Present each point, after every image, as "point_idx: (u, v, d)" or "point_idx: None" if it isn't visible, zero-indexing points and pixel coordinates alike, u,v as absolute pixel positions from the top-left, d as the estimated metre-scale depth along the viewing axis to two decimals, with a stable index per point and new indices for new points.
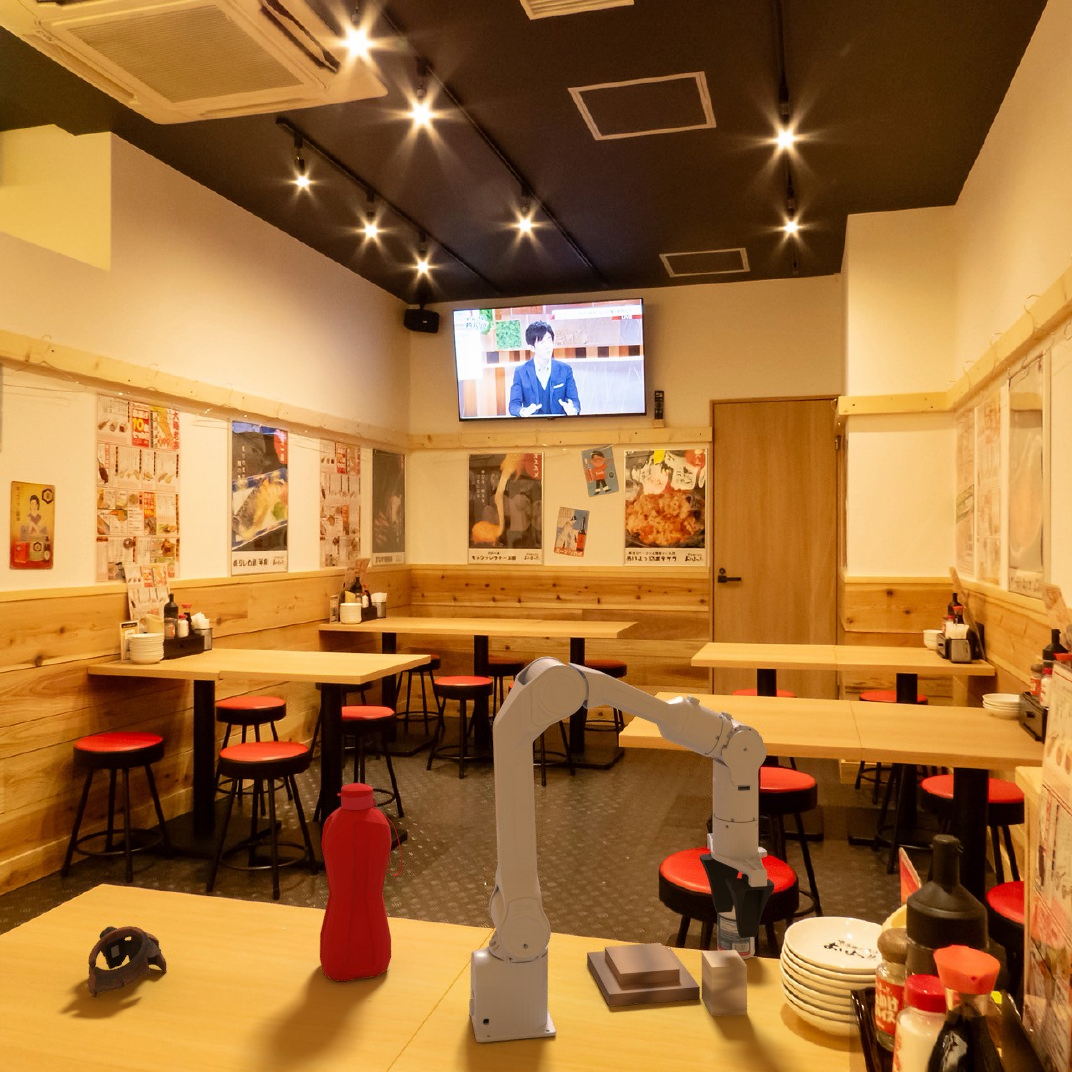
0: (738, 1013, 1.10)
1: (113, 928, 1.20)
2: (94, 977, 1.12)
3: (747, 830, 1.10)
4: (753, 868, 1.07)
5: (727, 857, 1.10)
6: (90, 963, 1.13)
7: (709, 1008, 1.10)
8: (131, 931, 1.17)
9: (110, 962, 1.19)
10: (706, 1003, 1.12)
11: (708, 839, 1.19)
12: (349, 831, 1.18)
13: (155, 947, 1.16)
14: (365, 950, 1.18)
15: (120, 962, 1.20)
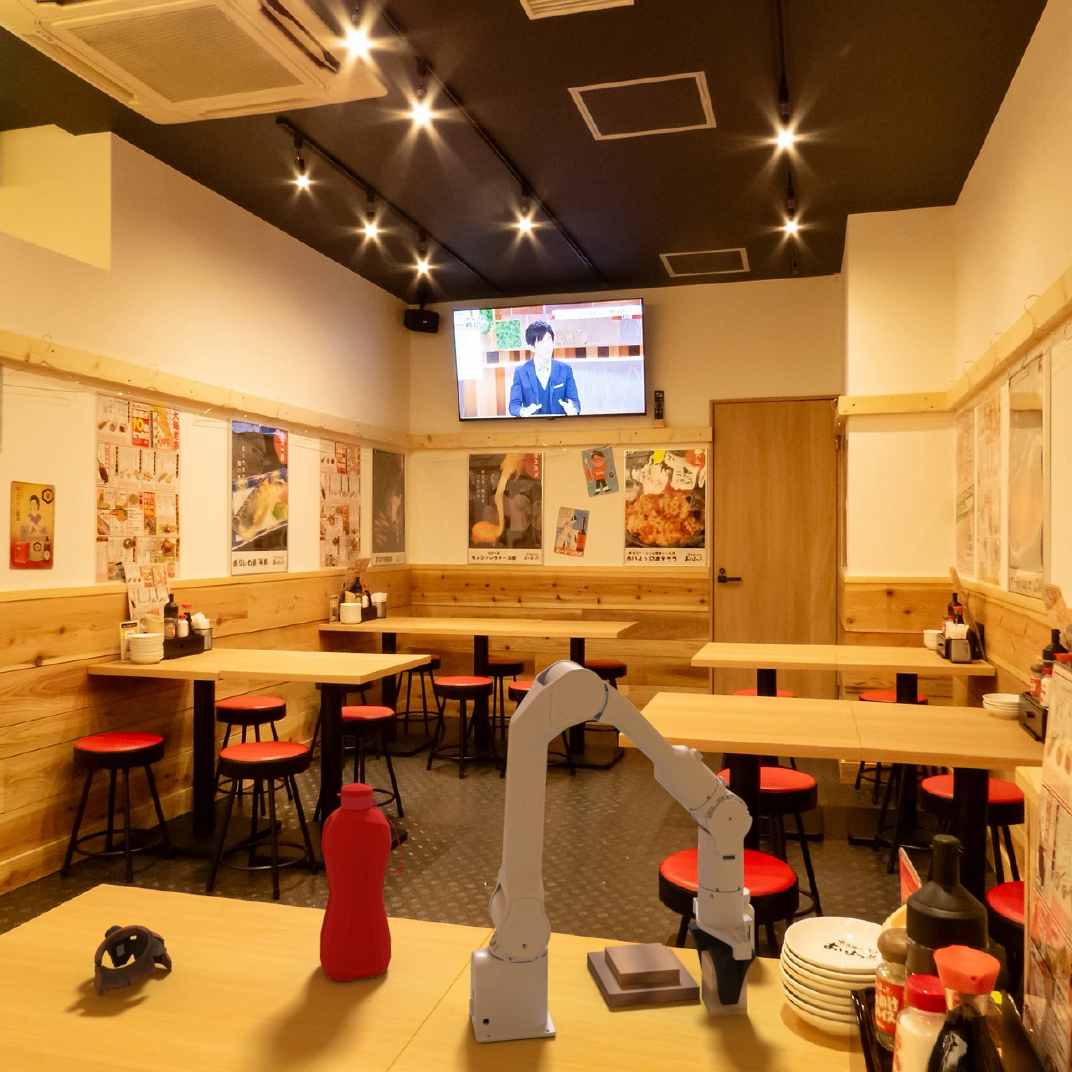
0: (738, 1013, 1.10)
1: (118, 927, 1.20)
2: (100, 976, 1.13)
3: (732, 900, 1.10)
4: (738, 940, 1.06)
5: (712, 927, 1.09)
6: (96, 962, 1.13)
7: (709, 1008, 1.10)
8: (137, 930, 1.17)
9: (115, 961, 1.19)
10: (706, 1003, 1.12)
11: (694, 904, 1.19)
12: (349, 831, 1.18)
13: (161, 946, 1.17)
14: (365, 950, 1.18)
15: (125, 961, 1.20)
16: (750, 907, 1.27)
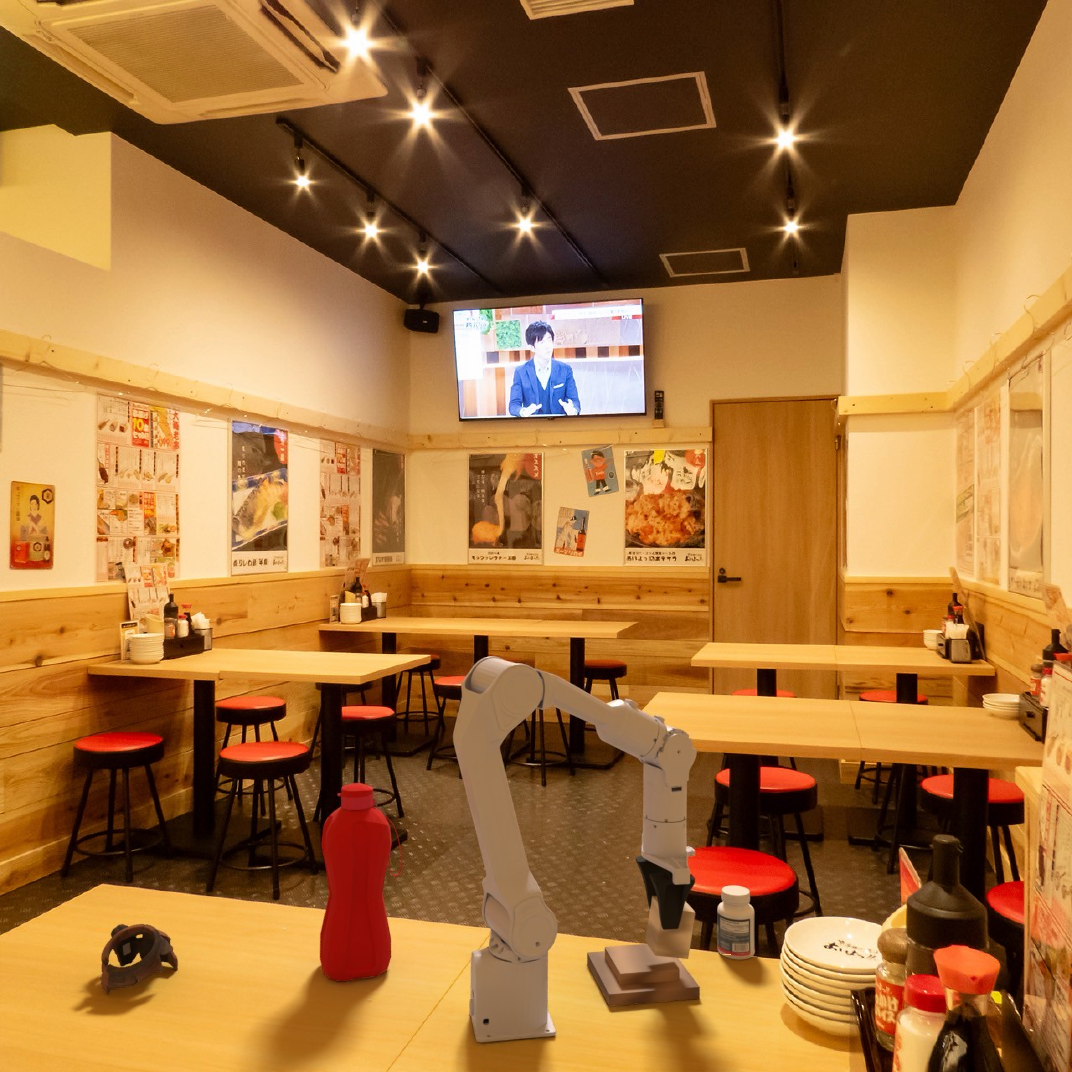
0: (680, 956, 1.14)
1: (124, 926, 1.21)
2: (107, 974, 1.13)
3: (674, 830, 1.14)
4: (678, 866, 1.11)
5: (655, 856, 1.14)
6: (103, 960, 1.14)
7: (653, 948, 1.15)
8: (143, 929, 1.18)
9: (122, 959, 1.20)
10: (650, 944, 1.16)
11: (642, 839, 1.23)
12: (349, 831, 1.18)
13: (167, 944, 1.17)
14: (365, 951, 1.18)
15: (131, 959, 1.21)
16: (750, 907, 1.27)
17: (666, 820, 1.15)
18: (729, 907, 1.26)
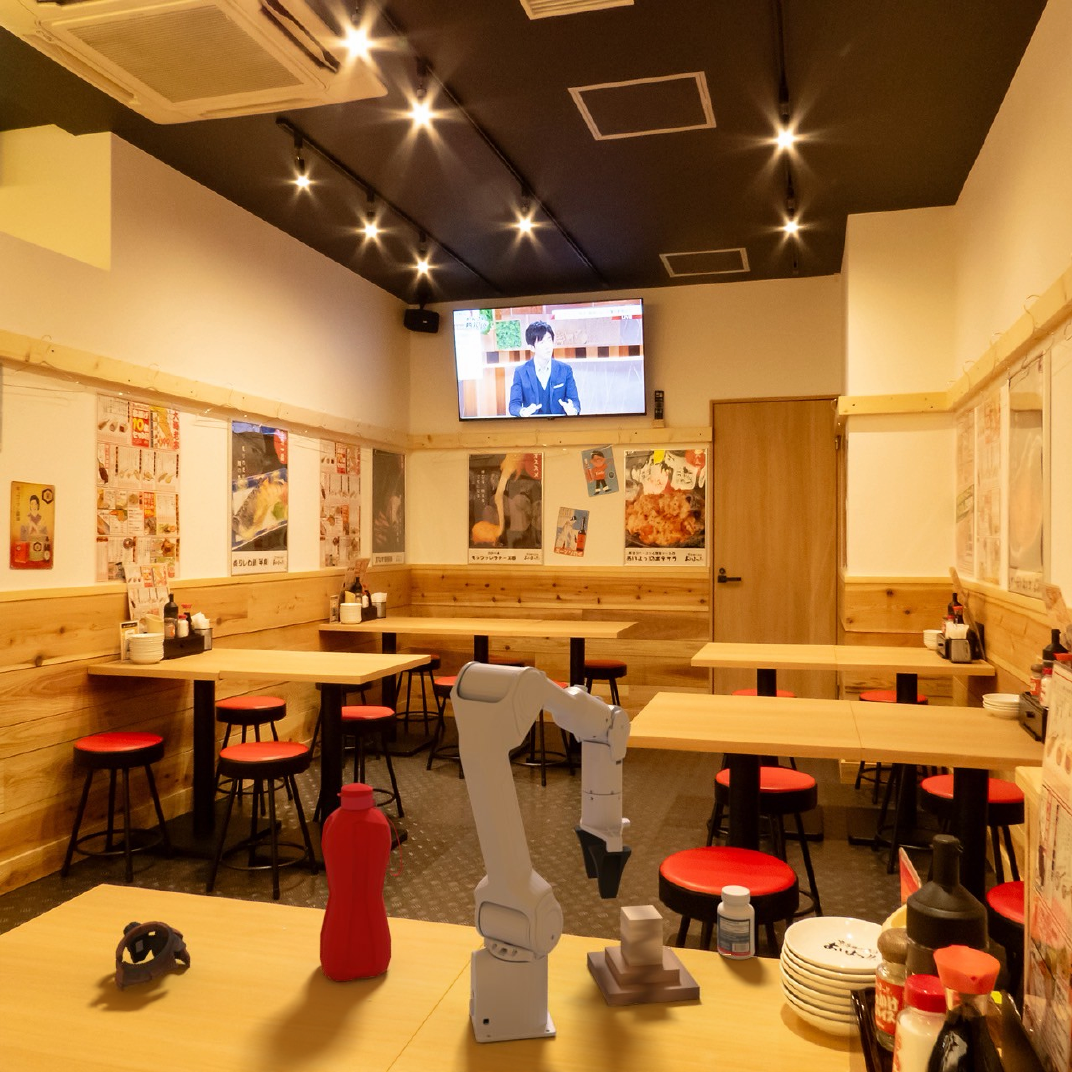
0: (654, 963, 1.16)
1: (137, 923, 1.21)
2: (122, 971, 1.14)
3: (609, 802, 1.22)
4: (611, 835, 1.18)
5: (591, 827, 1.21)
6: (117, 957, 1.15)
7: (627, 959, 1.17)
8: (156, 926, 1.18)
9: (134, 957, 1.20)
10: (624, 955, 1.18)
11: None
12: (349, 831, 1.18)
13: (181, 941, 1.18)
14: (365, 950, 1.18)
15: (144, 957, 1.21)
16: (750, 907, 1.27)
17: None
18: (729, 907, 1.26)
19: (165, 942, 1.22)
